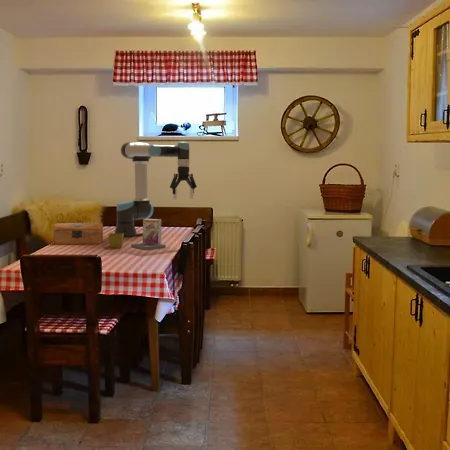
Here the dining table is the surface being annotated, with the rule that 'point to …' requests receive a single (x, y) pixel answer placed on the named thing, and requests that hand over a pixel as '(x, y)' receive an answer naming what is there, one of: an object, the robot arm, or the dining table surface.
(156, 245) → the plant tray
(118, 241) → the flower pot
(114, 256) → the dining table surface
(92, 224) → the wooden box
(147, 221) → the candy bar box
